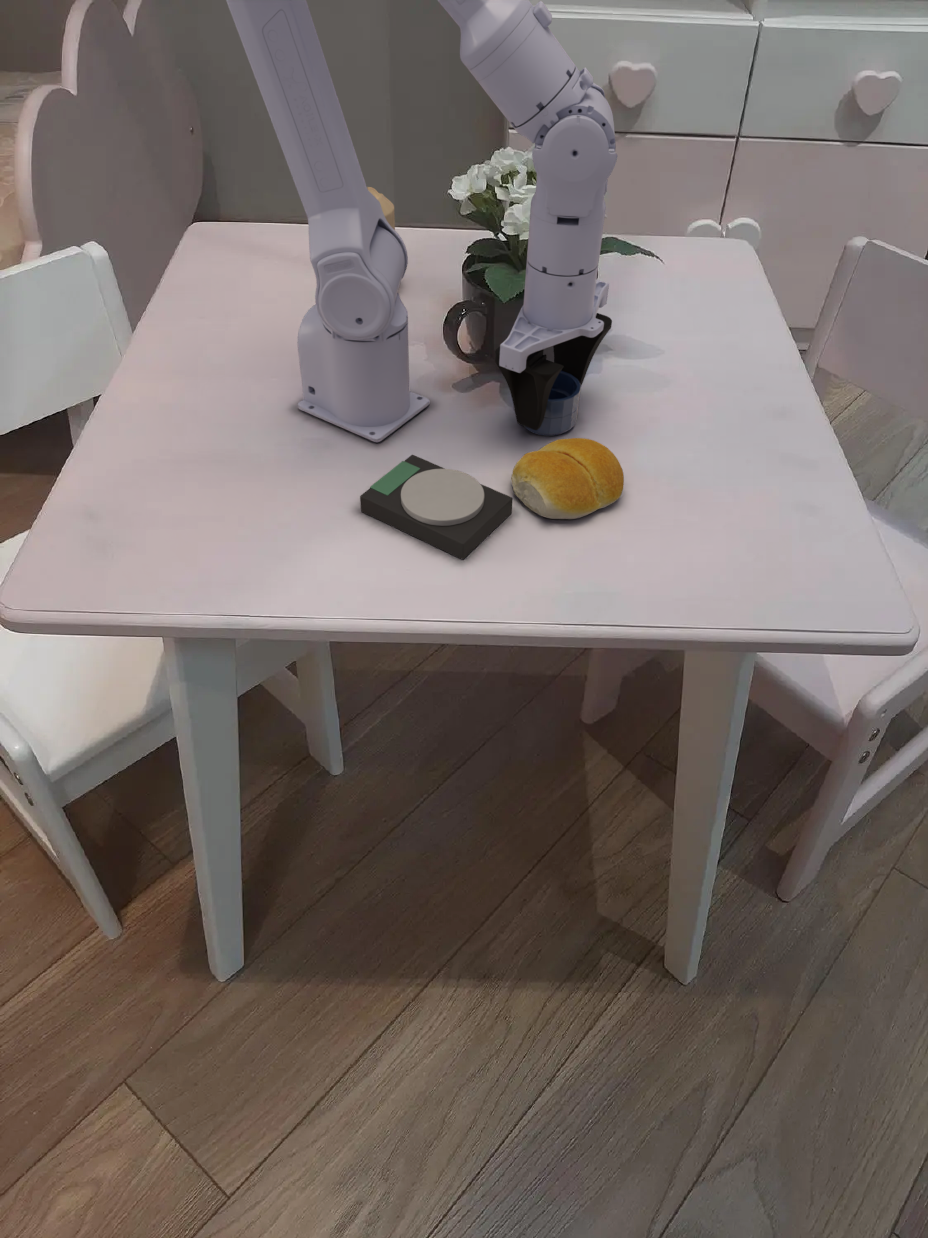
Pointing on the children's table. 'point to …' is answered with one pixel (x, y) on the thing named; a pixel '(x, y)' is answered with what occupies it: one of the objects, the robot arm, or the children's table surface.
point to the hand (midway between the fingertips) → (548, 407)
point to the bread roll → (568, 478)
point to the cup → (561, 406)
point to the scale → (437, 505)
